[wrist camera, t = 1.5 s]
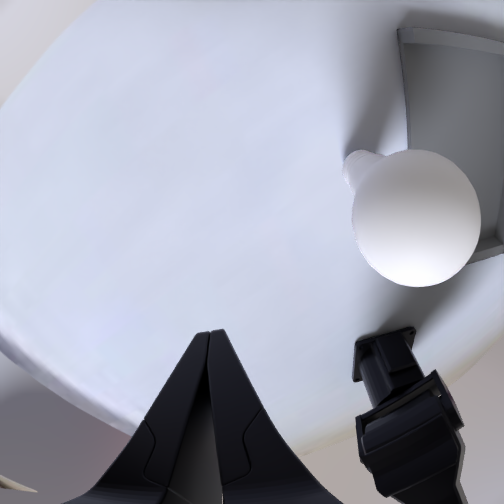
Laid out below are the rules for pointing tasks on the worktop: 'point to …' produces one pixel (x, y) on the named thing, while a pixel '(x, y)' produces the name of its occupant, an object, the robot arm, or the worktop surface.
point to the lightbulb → (412, 215)
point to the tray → (460, 115)
